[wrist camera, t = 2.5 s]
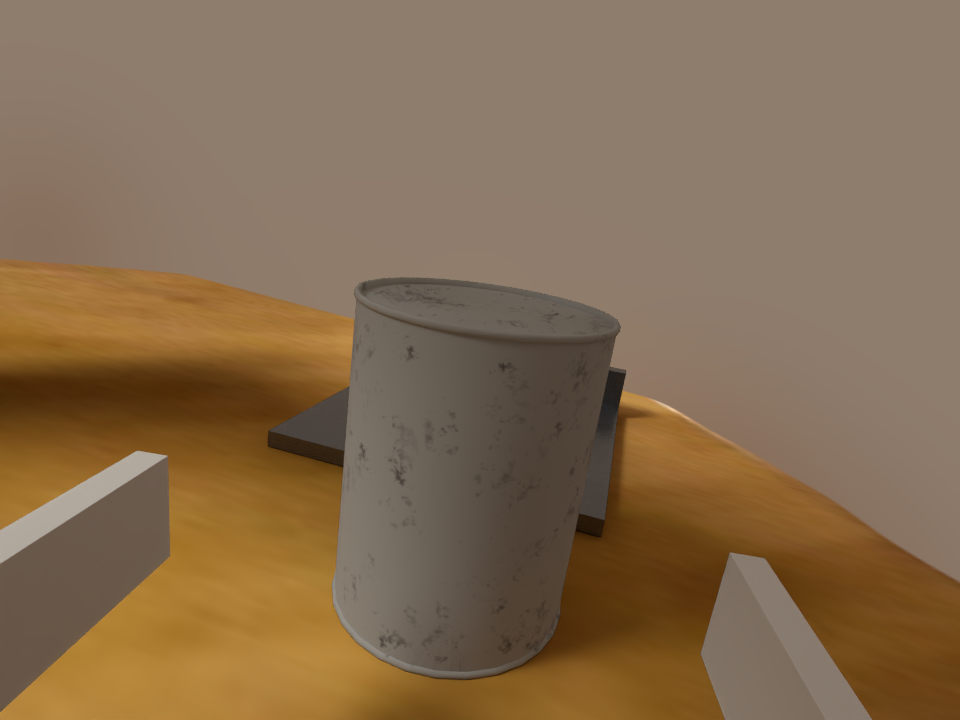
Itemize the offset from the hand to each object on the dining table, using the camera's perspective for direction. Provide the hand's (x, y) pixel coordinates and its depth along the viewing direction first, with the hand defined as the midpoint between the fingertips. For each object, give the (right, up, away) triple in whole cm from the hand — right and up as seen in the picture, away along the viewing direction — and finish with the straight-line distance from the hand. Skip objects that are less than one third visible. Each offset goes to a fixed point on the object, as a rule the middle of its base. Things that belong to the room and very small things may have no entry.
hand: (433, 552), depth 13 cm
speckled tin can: (0, -5, +11) cm, 12 cm away
